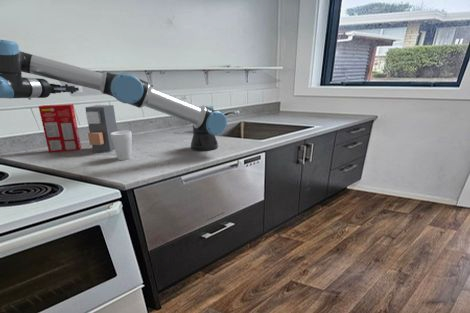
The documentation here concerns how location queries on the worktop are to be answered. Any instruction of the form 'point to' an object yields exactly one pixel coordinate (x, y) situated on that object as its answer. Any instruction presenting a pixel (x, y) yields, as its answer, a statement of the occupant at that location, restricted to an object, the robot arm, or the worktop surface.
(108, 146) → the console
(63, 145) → the food packaging
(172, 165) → the worktop surface
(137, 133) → the worktop surface
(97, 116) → the grey plug
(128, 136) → the foam cup
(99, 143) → the terracotta plug
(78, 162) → the worktop surface
